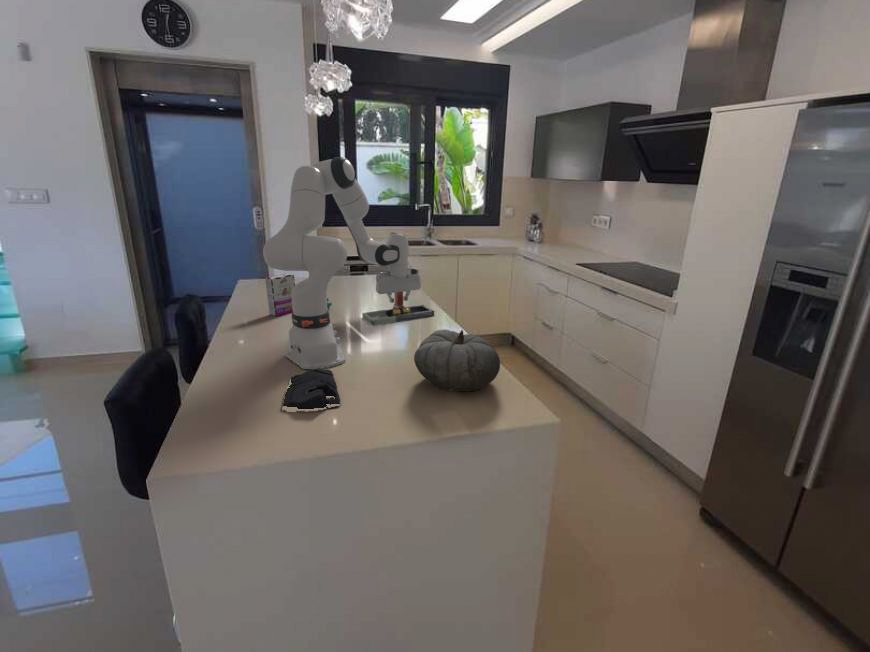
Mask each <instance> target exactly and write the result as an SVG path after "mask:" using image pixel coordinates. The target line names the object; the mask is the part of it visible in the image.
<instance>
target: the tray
mask: <svg viewBox="0 0 870 652" xmlns="http://www.w3.org/2000/svg"><path fill="white" fill-rule="evenodd" d="M386 310H387V309H380V310H374V311H373V310H372V311H368V312H367V311H365V312H362V318H363V320H365V321H367V323H369V324H370V325H371V326H377V325H383V324H390V323H396V322H397V321H396V317H395V316H393V317H388V316H387V315H386ZM382 316H387V317H382ZM374 317H376V318H375V319H374ZM377 317H381V318H377Z"/></svg>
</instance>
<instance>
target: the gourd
mask: <svg viewBox="0 0 870 652" xmlns="http://www.w3.org/2000/svg"><path fill="white" fill-rule="evenodd" d="M413 361H414V365H415V366H416V369H417V371H418V372H419V374H421V375H422V377H423V378H424V379H425V380H427V381H428V382H429V383H430V384H431V385H433V387H436V388H438V389H440V390H443V391H446V392H448V391H456V392H465V391H468V392H469V391H478V390H481V389H484V388H485V387H488V385H489V384H491V383H492V382H493V381H494V380H495V379H496V378H497V376H498V374H499V372H500V369H501V359H500V356H499V354H498V353H497V350H496V348H495V347H494V346H493V344H492V343H491V342H489V341H488V340H487V339H486V338H484V337H481V336H479V335H477V334H472V333H471V334H469V333H468V334H467V333H465V334H464V330H463V329H461V330H460V332H457V331H454V330H449V329H446V328H445V329H444V328H443V329H437V330H435V331H433V332H432V333H431V334H429V336H427V337H426V338H424V339H423V340H422V341H421V343H420V345H419V346H418V348H417V349H416V351H415V352H414V355H413Z"/></svg>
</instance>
